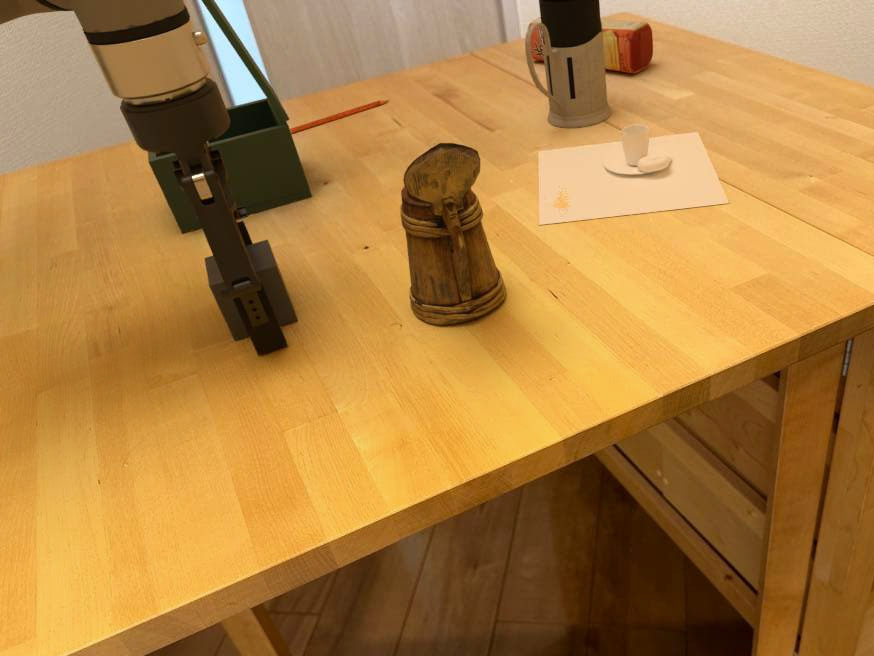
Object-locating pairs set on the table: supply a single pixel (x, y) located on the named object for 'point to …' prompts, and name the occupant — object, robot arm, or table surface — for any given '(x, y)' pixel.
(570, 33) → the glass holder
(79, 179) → the table surface
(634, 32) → the snack package
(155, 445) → the table surface
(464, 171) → the wooden mug
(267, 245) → the block
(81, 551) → the table surface
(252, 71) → the lid
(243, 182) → the chest
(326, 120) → the pencil
